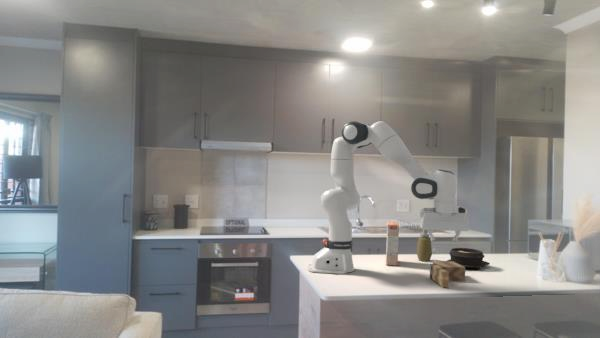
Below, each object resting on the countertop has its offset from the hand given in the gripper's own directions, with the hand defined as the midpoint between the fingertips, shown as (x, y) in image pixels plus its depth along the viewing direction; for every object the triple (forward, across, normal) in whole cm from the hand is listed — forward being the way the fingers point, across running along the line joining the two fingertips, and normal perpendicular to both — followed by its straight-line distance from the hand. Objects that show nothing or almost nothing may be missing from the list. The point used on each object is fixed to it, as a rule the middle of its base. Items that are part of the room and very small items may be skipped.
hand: (443, 241), depth 173 cm
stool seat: (+19, +6, +14) cm, 24 cm away
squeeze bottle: (+19, +10, +51) cm, 55 cm away
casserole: (+19, +27, +37) cm, 50 cm away
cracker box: (+19, -10, +43) cm, 48 cm away
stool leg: (+18, 0, +4) cm, 19 cm away
